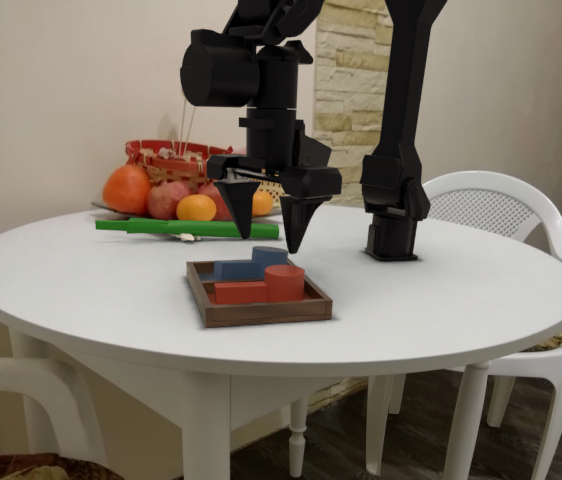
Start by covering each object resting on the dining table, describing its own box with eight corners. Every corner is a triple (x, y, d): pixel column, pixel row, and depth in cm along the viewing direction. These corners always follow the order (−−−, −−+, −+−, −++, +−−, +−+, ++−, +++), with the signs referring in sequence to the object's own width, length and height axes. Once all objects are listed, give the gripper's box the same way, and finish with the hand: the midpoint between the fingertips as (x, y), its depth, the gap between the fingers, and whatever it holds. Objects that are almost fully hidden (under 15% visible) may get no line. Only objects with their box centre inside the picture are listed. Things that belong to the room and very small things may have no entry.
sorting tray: (287, 273, 76) (288, 257, 75) (331, 319, 60) (333, 300, 59) (186, 277, 72) (186, 261, 71) (205, 327, 57) (205, 307, 56)
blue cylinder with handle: (269, 272, 73) (272, 246, 72) (292, 279, 70) (295, 252, 69) (206, 274, 67) (208, 245, 66) (228, 282, 64) (230, 252, 62)
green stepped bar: (274, 240, 97) (97, 234, 90) (275, 221, 95) (95, 213, 88) (280, 247, 93) (95, 241, 85) (281, 227, 91) (93, 220, 84)
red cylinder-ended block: (297, 292, 66) (299, 263, 64) (307, 304, 62) (309, 275, 60) (213, 295, 64) (212, 266, 62) (217, 308, 60) (217, 278, 58)
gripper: (381, 113, 60) (366, 252, 67) (271, 107, 73) (268, 225, 80) (309, 111, 54) (301, 266, 61) (202, 105, 66) (205, 235, 73)
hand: (268, 245), depth 69 cm, fingers open, 9 cm apart
